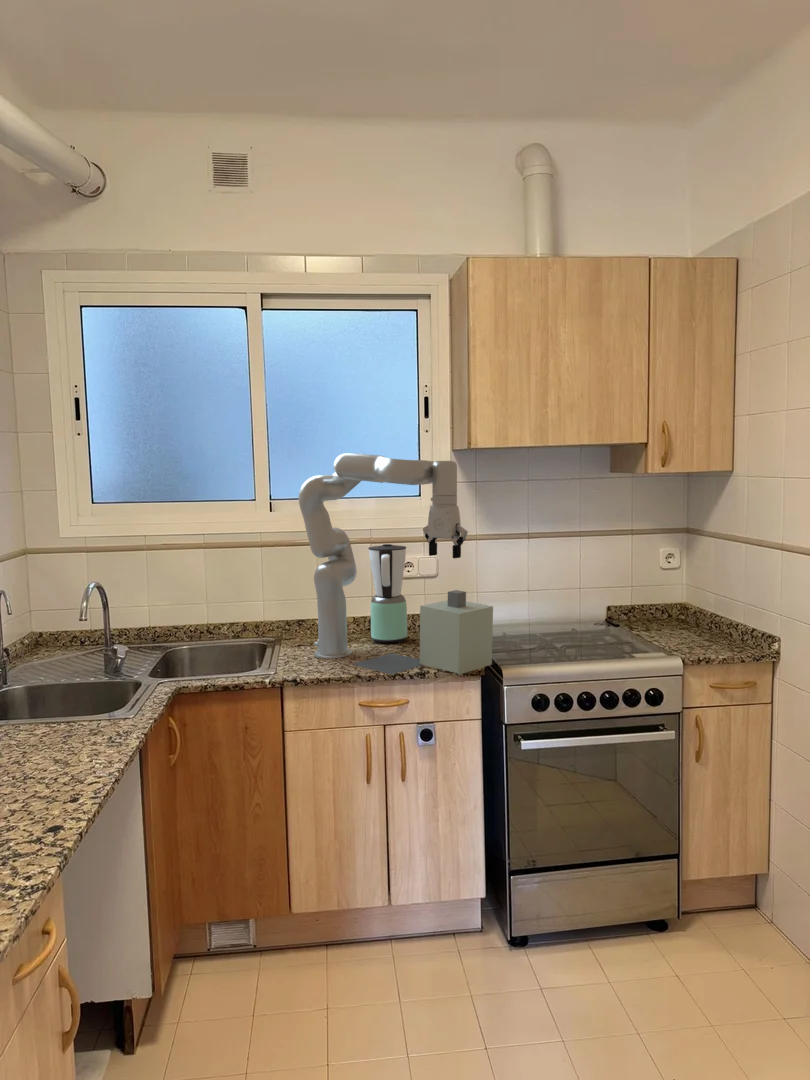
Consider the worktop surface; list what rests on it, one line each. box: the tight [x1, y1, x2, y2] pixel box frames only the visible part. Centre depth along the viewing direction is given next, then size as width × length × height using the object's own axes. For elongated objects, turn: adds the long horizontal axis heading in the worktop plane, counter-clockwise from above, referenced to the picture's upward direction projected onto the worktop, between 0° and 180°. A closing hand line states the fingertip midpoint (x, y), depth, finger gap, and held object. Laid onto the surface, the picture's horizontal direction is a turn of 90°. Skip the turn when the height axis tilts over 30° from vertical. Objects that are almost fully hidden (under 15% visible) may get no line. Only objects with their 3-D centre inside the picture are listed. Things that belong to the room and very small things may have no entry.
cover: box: [419, 589, 494, 676], centre depth 229 cm, size 16×16×23 cm
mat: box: [352, 653, 423, 675], centre depth 232 cm, size 18×18×1 cm
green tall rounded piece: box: [367, 543, 408, 645], centre depth 261 cm, size 19×13×35 cm
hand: (444, 556), depth 227 cm, fingers open, 9 cm apart
